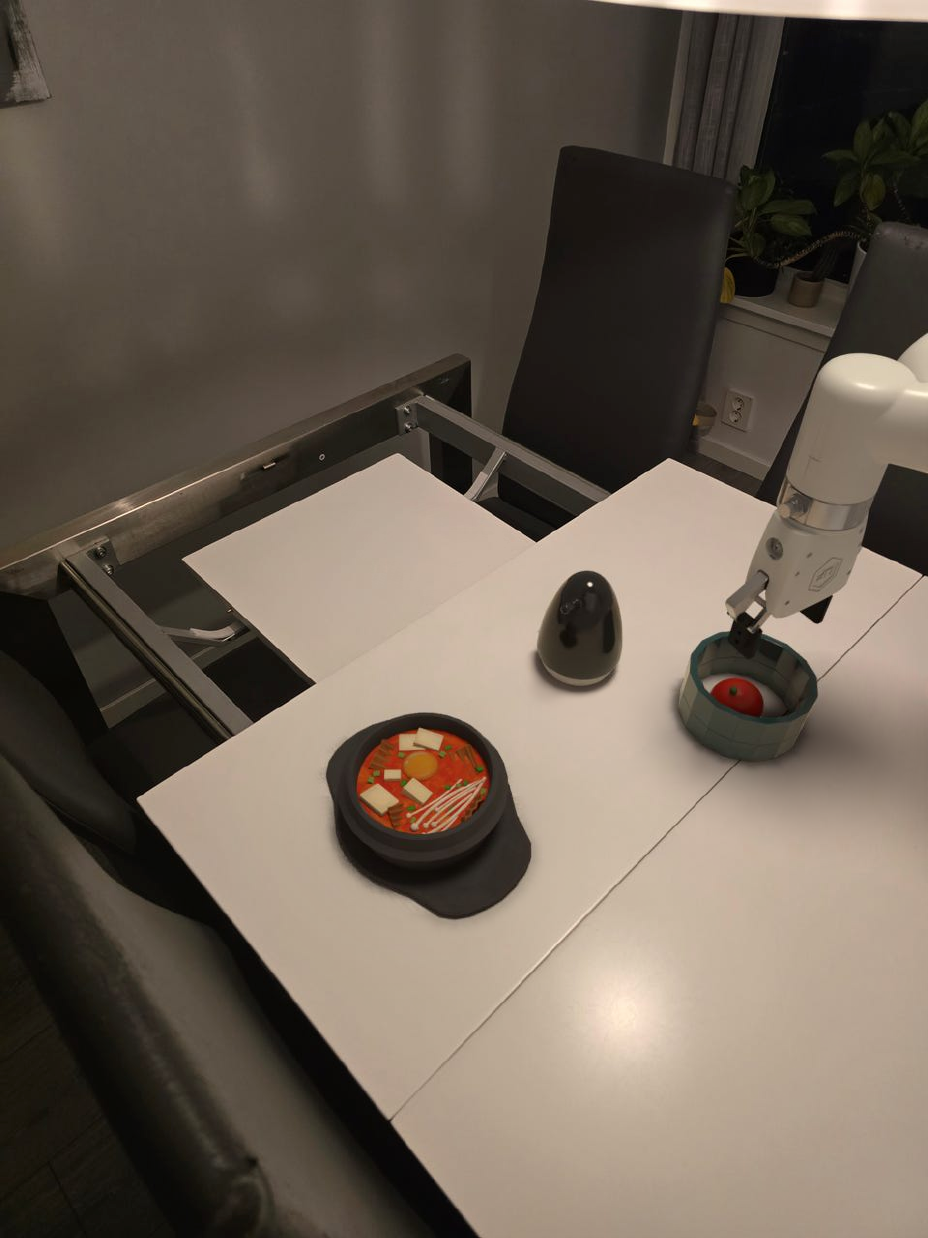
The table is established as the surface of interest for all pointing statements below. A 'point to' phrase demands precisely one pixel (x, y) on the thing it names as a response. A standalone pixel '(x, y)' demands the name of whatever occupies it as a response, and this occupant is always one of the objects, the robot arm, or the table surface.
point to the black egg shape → (581, 630)
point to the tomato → (739, 696)
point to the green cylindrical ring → (738, 730)
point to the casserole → (429, 811)
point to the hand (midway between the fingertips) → (774, 632)
